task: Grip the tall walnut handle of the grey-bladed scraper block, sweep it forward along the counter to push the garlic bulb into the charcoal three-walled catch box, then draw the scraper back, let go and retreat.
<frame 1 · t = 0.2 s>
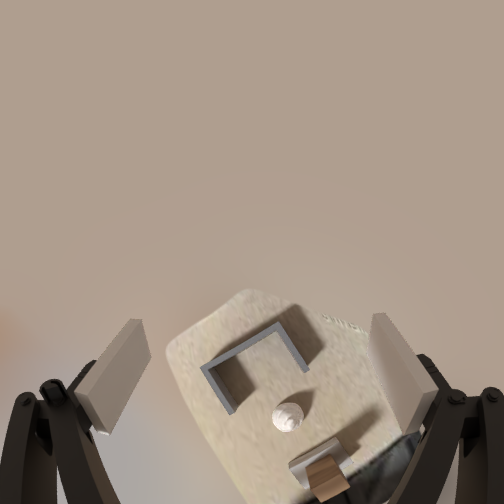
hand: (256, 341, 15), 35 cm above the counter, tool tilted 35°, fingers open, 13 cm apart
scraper: (319, 460, 40), on the counter
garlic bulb: (287, 414, 44), on the counter
catch box: (256, 368, 47), on the counter
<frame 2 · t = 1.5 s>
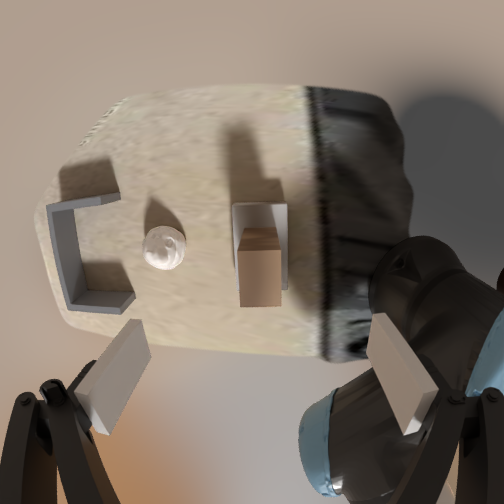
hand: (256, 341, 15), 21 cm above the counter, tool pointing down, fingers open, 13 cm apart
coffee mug: (501, 286, 35), on the counter
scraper: (261, 242, 35), on the counter
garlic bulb: (167, 244, 36), on the counter
catch box: (100, 248, 36), on the counter
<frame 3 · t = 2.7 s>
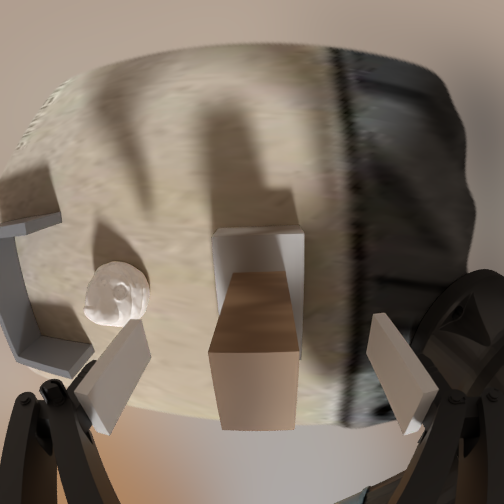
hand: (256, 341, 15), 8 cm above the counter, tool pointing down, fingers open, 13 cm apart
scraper: (261, 288, 22), on the counter
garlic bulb: (126, 287, 23), on the counter
catch box: (45, 286, 24), on the counter
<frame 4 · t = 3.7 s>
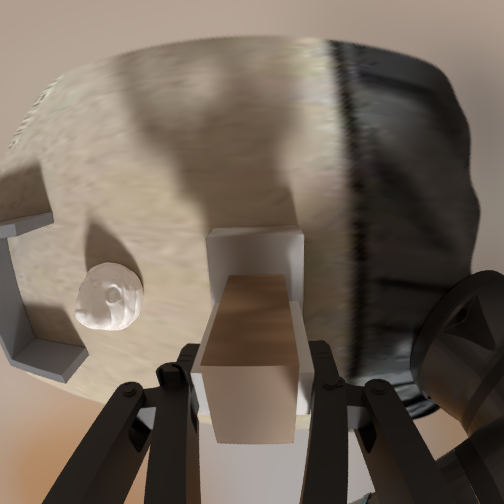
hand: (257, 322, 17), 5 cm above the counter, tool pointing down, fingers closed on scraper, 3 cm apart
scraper: (258, 291, 21), on the counter, touching gripper
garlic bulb: (119, 289, 22), on the counter
catch box: (38, 288, 23), on the counter
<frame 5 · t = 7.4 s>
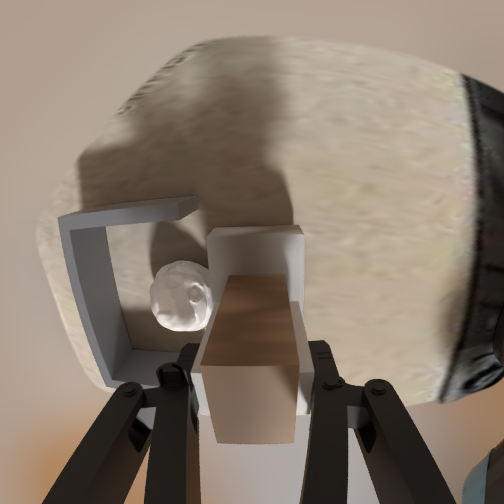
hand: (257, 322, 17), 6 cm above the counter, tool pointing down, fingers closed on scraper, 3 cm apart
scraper: (259, 291, 21), point 1 cm above the counter, touching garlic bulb, gripper
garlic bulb: (189, 288, 23), on the counter, touching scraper
catch box: (155, 289, 23), on the counter
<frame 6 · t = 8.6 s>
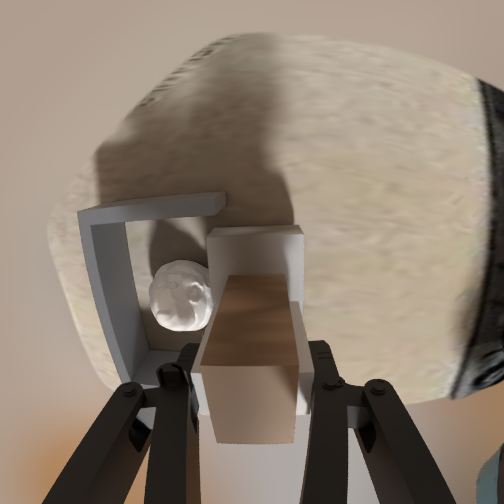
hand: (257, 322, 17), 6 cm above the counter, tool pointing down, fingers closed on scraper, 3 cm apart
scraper: (258, 291, 21), point 1 cm above the counter, touching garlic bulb, gripper
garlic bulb: (188, 287, 23), on the counter, touching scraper
catch box: (178, 287, 23), on the counter
when the fingers open (5 cm above the counter, at t = 10.5 s): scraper stays where it is, on the counter.
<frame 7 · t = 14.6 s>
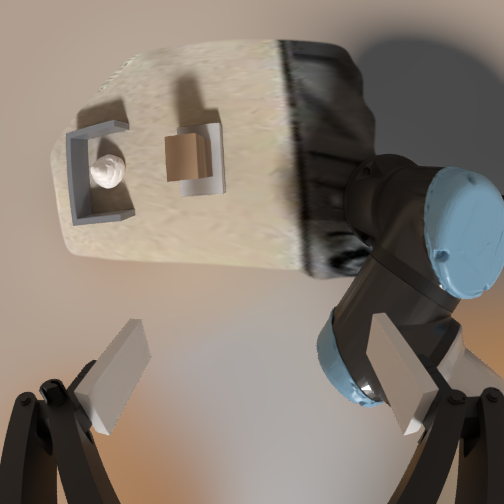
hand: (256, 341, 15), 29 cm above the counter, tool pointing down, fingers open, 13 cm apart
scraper: (203, 160, 40), on the counter
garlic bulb: (113, 171, 41), on the counter
catch box: (107, 172, 41), on the counter
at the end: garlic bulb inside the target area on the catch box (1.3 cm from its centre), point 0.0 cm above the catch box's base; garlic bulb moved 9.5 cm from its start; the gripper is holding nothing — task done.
